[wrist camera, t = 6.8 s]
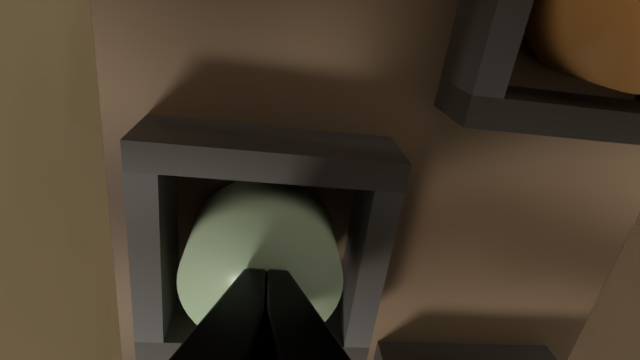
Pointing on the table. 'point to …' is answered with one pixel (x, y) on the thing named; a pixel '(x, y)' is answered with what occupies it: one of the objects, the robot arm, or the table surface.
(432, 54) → the console
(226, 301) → the robot arm
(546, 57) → the orange button
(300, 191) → the sage button
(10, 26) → the table surface
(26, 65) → the table surface
